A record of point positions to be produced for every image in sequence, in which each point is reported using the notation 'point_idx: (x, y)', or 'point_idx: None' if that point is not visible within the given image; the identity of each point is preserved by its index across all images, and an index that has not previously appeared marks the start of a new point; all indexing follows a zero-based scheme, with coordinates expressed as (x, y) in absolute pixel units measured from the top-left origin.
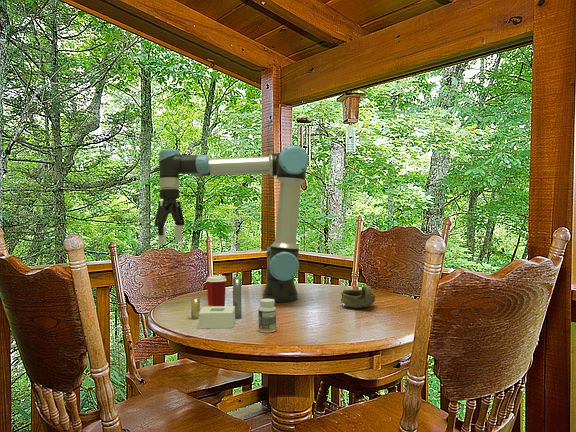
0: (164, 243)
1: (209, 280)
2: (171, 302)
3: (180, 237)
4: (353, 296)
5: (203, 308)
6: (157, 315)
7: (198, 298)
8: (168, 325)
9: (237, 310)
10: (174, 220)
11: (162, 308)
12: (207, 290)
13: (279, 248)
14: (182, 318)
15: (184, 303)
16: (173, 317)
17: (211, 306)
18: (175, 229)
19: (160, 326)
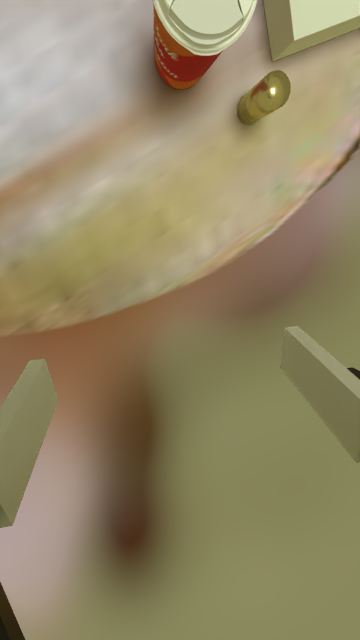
0: (298, 329)
1: (253, 3)
2: (74, 308)
3: (36, 381)
4: None
5: (326, 22)
6: (233, 247)
7: (262, 82)
8: (330, 150)
9: None
10: (4, 597)
11: (154, 285)
12: (218, 55)
13: None
14: (253, 154)
15: (70, 263)
16: (246, 189)
17: (292, 2)
18: (25, 478)
19: (340, 166)
